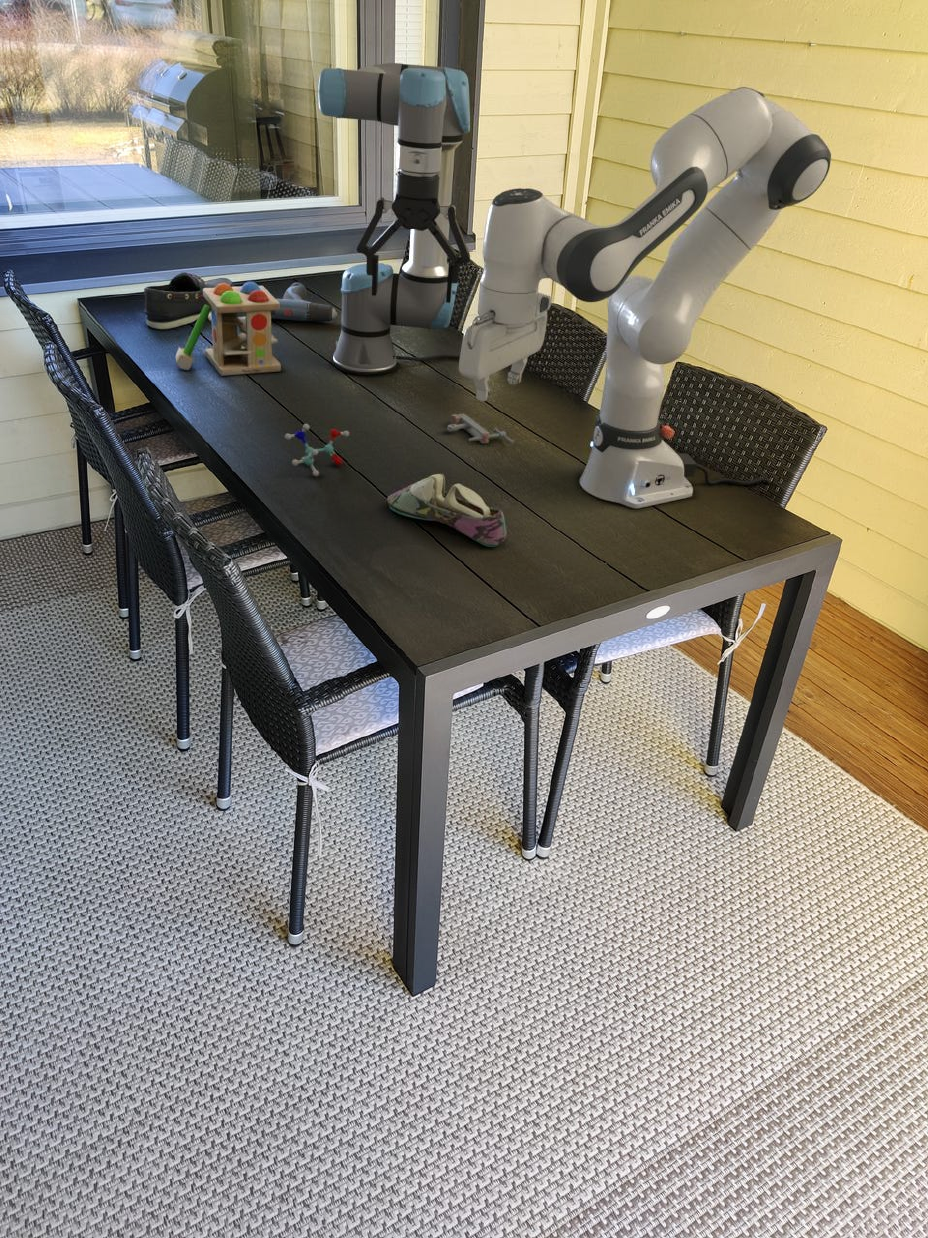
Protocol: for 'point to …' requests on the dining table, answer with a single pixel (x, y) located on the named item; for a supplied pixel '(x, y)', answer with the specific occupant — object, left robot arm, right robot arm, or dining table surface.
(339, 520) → the dining table surface
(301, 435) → the molecular model
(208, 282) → the boat shoe
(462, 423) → the clamp
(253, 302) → the pounding bench toy
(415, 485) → the ballet flat
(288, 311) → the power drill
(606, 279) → the right robot arm
